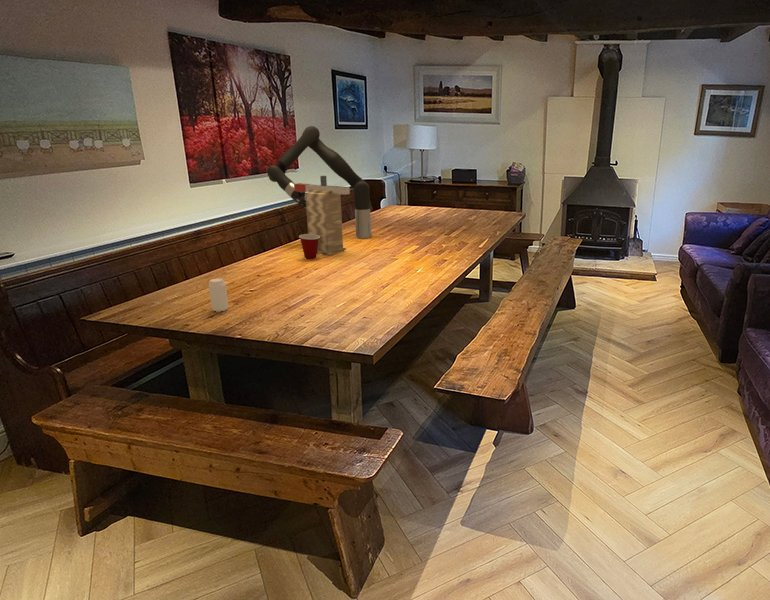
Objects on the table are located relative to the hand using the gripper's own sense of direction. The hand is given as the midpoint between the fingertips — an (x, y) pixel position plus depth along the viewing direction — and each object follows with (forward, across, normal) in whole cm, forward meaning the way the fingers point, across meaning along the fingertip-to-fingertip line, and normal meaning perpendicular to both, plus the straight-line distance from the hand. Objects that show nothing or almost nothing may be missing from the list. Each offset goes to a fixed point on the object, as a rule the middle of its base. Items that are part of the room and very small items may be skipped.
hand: (316, 210), depth 296 cm
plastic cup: (+20, -22, +14) cm, 33 cm away
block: (0, -9, -13) cm, 16 cm away
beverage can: (+29, -103, +20) cm, 109 cm away
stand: (+20, -6, +12) cm, 24 cm away
